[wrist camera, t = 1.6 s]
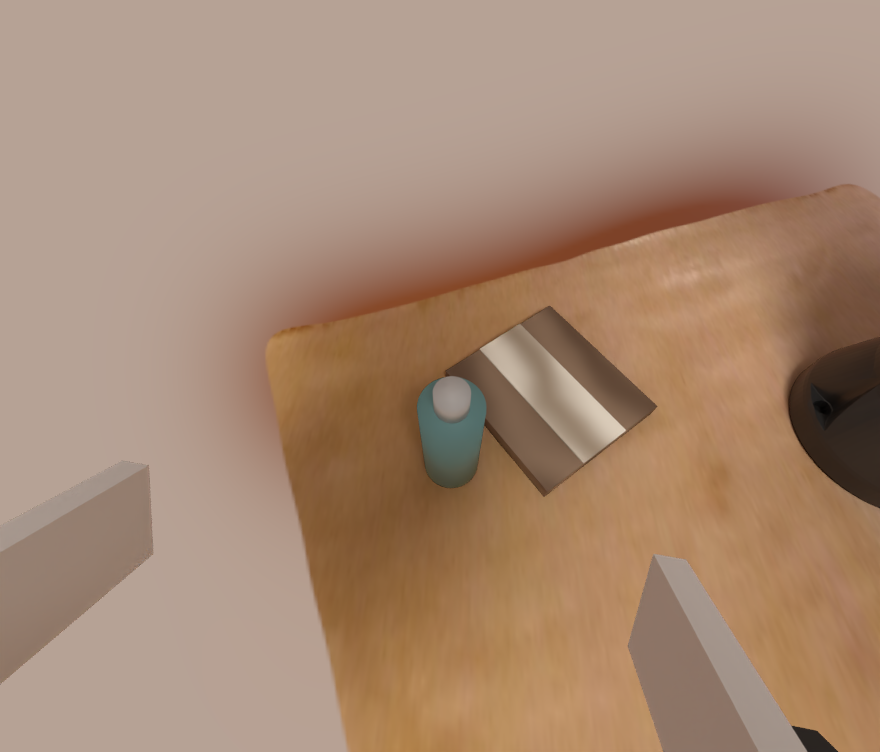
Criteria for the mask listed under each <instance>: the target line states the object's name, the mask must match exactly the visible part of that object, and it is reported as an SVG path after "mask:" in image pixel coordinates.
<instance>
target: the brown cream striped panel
mask: <svg viewBox="0 0 880 752" xmlns="http://www.w3.org/2000/svg"><path fill="white" fill-rule="evenodd" d="M448 376H456V377H460V378H463V379H466V380H468V381H470V382H472V383H473V384H475V385H476V386H477V387H478V388H479V389H480V391H481V392H482V394H483V395H484V398H485V401H486V407H487V409H486V417H485V423H484V425H485V426H486V428H487V429H488V430H489V431H490V432H491V434H492V435H493V436H494V437H495V438H496V440H497V441H498V442H499V443H500V444H501V446H502V447H503V448H504V449H505V450H506V452H507V453H508V454H509V455H510V456H511V458H512V459H513V460H514V461H515V462H516V464H517V465H518V466H519V467H520V468H521V470H522V471H523V472H524V473H525V474H526V476H527V477H528V478H529V479H530V480H531V482H532V483H533V484H534V485H535V486H536V488H537V489H538V490H539V491H540V492H541V494H542V495H543V496H546V495H547V494H548V493H550V492H551V491H552V490H553V489H555V488H556V487H557V486H559V485H560V484H561V483H562V482H564V481H565V480H566V479H568V478H569V477H570V476H571V475H573V474H574V473H575V472H577V471H578V470H579V469H580V468H582V467H583V466H584V465H586V464H587V463H588V462H589V461H591V460H592V459H593V458H595V457H596V456H597V455H598V454H600V453H601V452H602V451H604V450H605V449H606V448H607V447H609V446H610V445H611V444H613V443H614V442H615V441H616V440H618V439H619V438H620V437H622V436H623V435H624V434H625V433H627V432H628V431H629V430H631V429H632V428H633V427H634V426H636V425H637V424H638V423H640V422H641V421H642V420H643V419H645V418H646V417H647V416H649V415H650V414H651V413H652V412H653V411H654V410H655V409H656V407H657V406H656V405H655V404H654V403H653V402H652V401H651V400H650V399H649V398H648V397H647V396H646V395H645V394H644V393H643V392H641V391H640V390H639V389H638V388H637V387H636V386H635V385H634V384H633V383H632V382H631V381H630V380H629V379H628V378H627V377H625V376H624V375H623V374H622V373H621V372H620V371H619V370H618V369H617V368H616V367H615V366H614V365H613V364H612V363H611V362H609V361H608V360H607V359H606V358H605V357H604V356H603V355H602V354H601V353H600V352H599V351H598V350H597V349H596V348H595V347H593V346H592V345H591V344H590V343H589V342H588V341H587V340H586V339H585V338H584V337H583V336H582V335H581V334H580V333H579V332H577V331H576V330H575V329H574V328H573V327H572V326H571V325H570V324H569V323H568V322H567V321H566V320H565V319H564V318H563V317H561V316H560V315H559V314H558V313H557V312H556V311H555V310H554V309H553V308H552V307H551V306H548V307H547V308H545V309H544V310H542V311H540V312H539V313H537V314H536V315H534V316H532V317H531V318H529V319H528V320H526V321H524V322H523V323H521V324H518V325H517V326H515V327H514V328H512V329H510V330H509V331H507V332H506V333H504V334H503V335H501V336H499V337H498V338H496V339H495V340H493V341H491V342H490V343H488V344H487V345H485V346H483V347H482V348H480V350H478V351H477V352H475V353H473V354H472V355H470V356H469V357H467V358H466V359H464V360H462V361H461V362H459V363H458V364H456V365H454V366H453V367H451V368H450V369H448V370H446V377H448Z"/></svg>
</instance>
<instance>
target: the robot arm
mask: <svg viewBox="0 0 880 752" xmlns="http://www.w3.org/2000/svg"><path fill="white" fill-rule="evenodd" d="M790 414H791V419H792V422H793V426H794V428H795V431H796V433H797V435H798V437H799V439H800V441H801V443H802V445H803V446H804V448H805V449H806V451H807V452H808V453H809V455H810V456H811V457H812V459H813V460H814V461H815V462H816V463H817V465H818V466H819V467H820V468H821V469H822V470H823V471H824V472H825V473H826V474H827V475H828V476H830V477H831V478H832V479H833V480H834V481H835V482H837V483H838V484H839V485H841V486H842V487H843V488H845V489H846V490H848V491H849V492H851V493H852V494H854V495H855V496H857V497H859V498H860V499H862V500H864V501H866V502H868V503H870V504H872V505H875V506H877V507H879V508H880V337H877V338H874V339H871V340H868V341H864V342H861V343H858V344H855V345H851V346H848V347H845V348H841V349H838V350H836V351H833V352H831V353H829V354H827V355H825V356H823V357H822V358H820V359H819V360H818V361H816V362H815V363H814V364H812V365H811V366H810V367H808V368H807V369H806V370H804V371H803V372H802V373H801V374H800V375H799V377H798V378H797V379H796V381H795V383H794V385H793V387H792V390H791V394H790ZM151 519H152V518H151V499H150V478H149V465H144V464H138V463H133V462H127V461H121V462H119V463H117V464H115V465H113V466H111V467H109V468H108V469H106V470H104V471H102V472H100V473H98V474H96V475H95V476H93V477H91V478H89V479H87V480H85V481H83V482H81V483H79V484H78V485H76V486H74V487H72V488H70V489H68V490H66V491H64V492H62V493H61V494H59V495H57V496H55V497H53V498H51V499H49V500H48V501H46V502H44V503H42V504H40V505H38V506H36V507H35V508H32V509H31V510H29V511H27V512H25V513H23V514H22V515H19V516H18V517H15V518H14V519H12V520H10V521H8V522H6V523H4V524H3V525H0V684H1V683H2V682H3V681H5V680H6V679H7V678H8V677H9V676H10V675H12V674H13V673H14V672H15V671H16V670H17V669H19V668H20V667H21V666H22V665H23V664H24V663H26V662H27V661H28V660H29V659H30V658H31V657H33V656H34V655H35V654H36V653H37V652H39V651H40V650H41V649H42V648H43V647H44V646H46V645H47V644H48V643H49V642H50V641H51V640H53V639H54V638H55V637H56V636H57V635H59V634H60V633H61V632H62V631H63V630H64V629H66V628H67V627H68V626H69V625H70V624H72V622H74V621H75V620H76V619H77V618H79V617H80V616H81V615H82V614H83V613H84V612H86V611H87V610H88V609H89V608H90V607H91V606H93V605H94V604H95V603H96V602H97V601H99V600H100V599H101V598H102V597H103V596H104V595H106V594H107V593H108V592H109V591H110V590H111V589H112V588H114V587H115V586H116V585H117V584H119V583H120V582H121V581H122V580H123V579H124V578H125V577H127V576H128V575H129V574H130V573H131V572H133V571H134V570H135V569H136V568H137V567H139V566H140V565H141V564H142V563H143V562H144V561H146V560H147V559H148V558H149V557H150V556H151V555H153V539H152V520H151ZM628 648H629V651H630V654H631V657H632V660H633V663H634V666H635V669H636V672H637V675H638V678H639V681H640V684H641V686H642V689H643V692H644V695H645V698H646V701H647V704H648V707H649V710H650V713H651V716H652V719H653V722H654V725H655V728H656V731H657V734H658V737H659V740H660V743H661V746H662V749H663V752H838V751H837V750H836V749H835V748H834V747H833V746H832V745H831V744H830V743H829V742H828V741H827V740H826V739H825V738H824V737H823V736H822V735H821V734H820V733H819V732H818V731H815V730H810V729H805V728H800V727H795V726H791V725H790V723H789V722H788V720H787V719H786V717H785V715H784V714H783V712H782V711H781V709H780V707H779V706H778V704H777V703H776V701H775V700H774V698H773V696H772V695H771V693H770V692H769V690H768V688H767V687H766V685H765V684H764V682H763V681H762V679H761V677H760V676H759V674H758V673H757V671H756V669H755V668H754V666H753V665H752V663H751V662H750V660H749V658H748V657H747V655H746V654H745V652H744V650H743V649H742V647H741V646H740V644H739V643H738V641H737V639H736V638H735V636H734V635H733V633H732V631H731V630H730V628H729V627H728V625H727V624H726V622H725V620H724V619H723V617H722V616H721V614H720V612H719V611H718V609H717V608H716V606H715V604H714V603H713V601H712V600H711V598H710V597H709V595H708V593H707V592H706V590H705V589H704V587H703V585H702V584H701V582H700V581H699V579H698V578H697V576H696V574H695V573H694V571H693V570H692V568H691V566H690V565H689V563H688V562H687V560H686V559H680V558H674V557H669V556H663V555H657V554H653V557H652V561H651V564H650V568H649V572H648V575H647V579H646V582H645V586H644V589H643V593H642V597H641V600H640V604H639V607H638V611H637V615H636V618H635V622H634V625H633V629H632V632H631V636H630V640H629V643H628Z"/></svg>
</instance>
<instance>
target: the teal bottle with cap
mask: <svg viewBox="0 0 880 752" xmlns="http://www.w3.org/2000/svg"><path fill="white" fill-rule="evenodd" d="M486 409H487V407H486V401H485V398H484V395H483V394H482V392H481V391H480V389H479V388H478V387H477V386H476V385H475V384H473V383H472V382H470V381H468V380H466V379H463V378H460V377H456V376H448V377H443V378H440V379H437V380H435V381H433V382H431V383H430V384H429V385H428V386H426V387H425V389H424V390H423V391H422V393H421V394H420V396H419V399H418V403H417V413H418V420H419V427H420V434H421V441H422V448H423V455H424V462H425V468H426V472H427V474H428V475H429V477H430V478H431V479H432V480H433V481H434V482H435V483H436V484H438V485H440V486H442V487H446V488H456V487H460V486H463V485H465V484H466V483H468V482H469V481H470V480H471V479H472V478H473V476H474V475H475V473H476V470H477V465H478V459H479V453H480V447H481V441H482V435H483V429H484V423H485V417H486Z"/></svg>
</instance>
